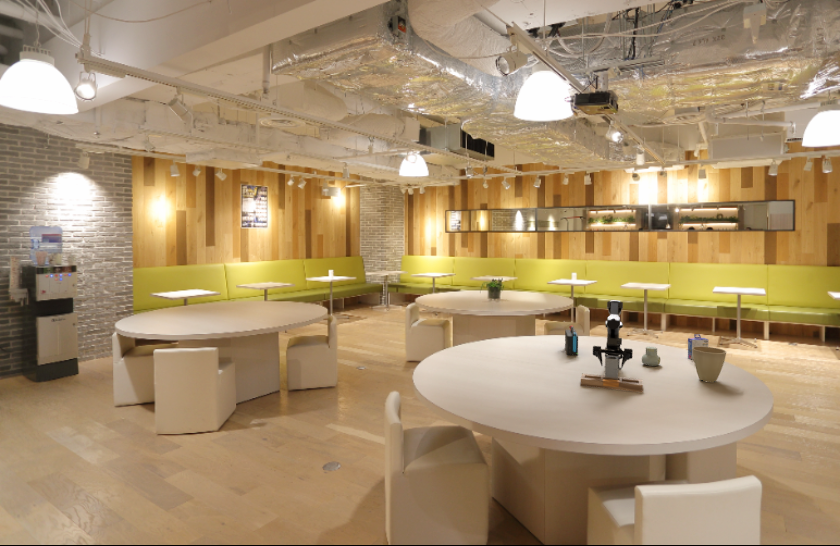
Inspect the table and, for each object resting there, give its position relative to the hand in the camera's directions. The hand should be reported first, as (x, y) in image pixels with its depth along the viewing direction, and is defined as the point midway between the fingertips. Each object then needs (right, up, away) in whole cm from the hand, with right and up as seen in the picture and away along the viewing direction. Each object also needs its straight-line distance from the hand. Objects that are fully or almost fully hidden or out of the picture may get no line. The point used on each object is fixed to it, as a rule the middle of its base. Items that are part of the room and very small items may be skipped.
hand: (611, 366), depth 244 cm
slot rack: (-1, -9, -2) cm, 9 cm away
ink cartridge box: (+70, -5, +48) cm, 85 cm away
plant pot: (+52, -8, +6) cm, 53 cm away
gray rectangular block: (-1, -8, -2) cm, 8 cm away
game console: (+1, -4, +68) cm, 68 cm away
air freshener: (+36, -6, +36) cm, 51 cm away
